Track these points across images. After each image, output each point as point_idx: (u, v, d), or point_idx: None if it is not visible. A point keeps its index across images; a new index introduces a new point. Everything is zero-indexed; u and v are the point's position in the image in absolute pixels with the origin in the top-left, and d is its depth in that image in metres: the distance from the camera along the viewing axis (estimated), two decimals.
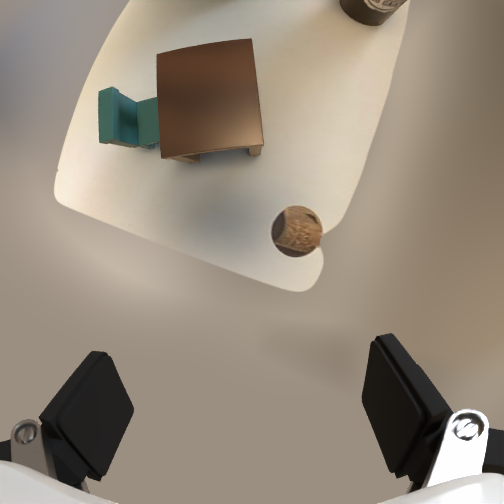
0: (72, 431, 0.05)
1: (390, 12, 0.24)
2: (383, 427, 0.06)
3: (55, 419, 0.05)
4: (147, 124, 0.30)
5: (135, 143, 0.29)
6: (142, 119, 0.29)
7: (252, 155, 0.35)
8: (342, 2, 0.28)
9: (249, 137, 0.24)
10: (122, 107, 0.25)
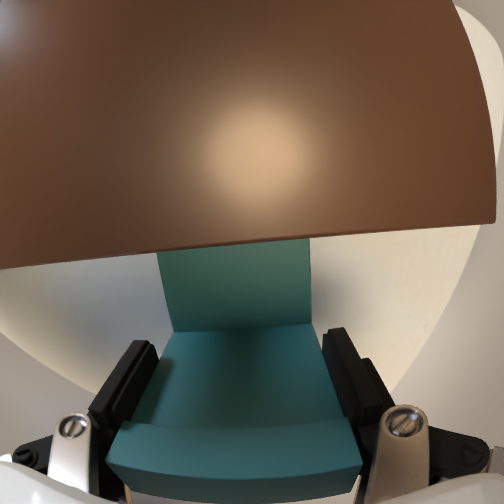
0: (123, 420, 0.06)
1: None
2: None
3: (107, 409, 0.06)
4: (249, 297, 0.11)
5: (311, 334, 0.10)
6: (230, 314, 0.11)
7: None
8: None
9: None
10: (193, 398, 0.07)
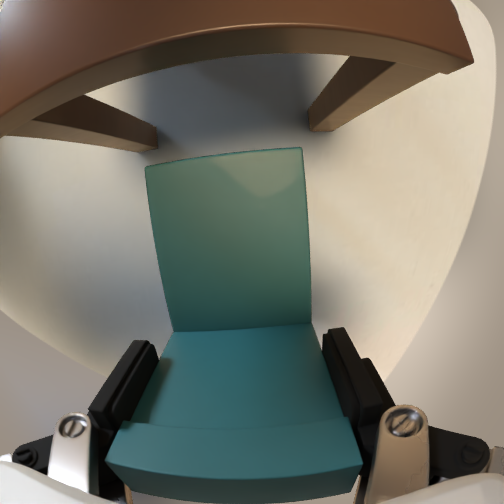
0: (123, 420, 0.06)
1: None
2: None
3: (107, 409, 0.06)
4: (248, 297, 0.11)
5: (312, 334, 0.10)
6: (230, 314, 0.11)
7: None
8: None
9: None
10: (192, 397, 0.07)
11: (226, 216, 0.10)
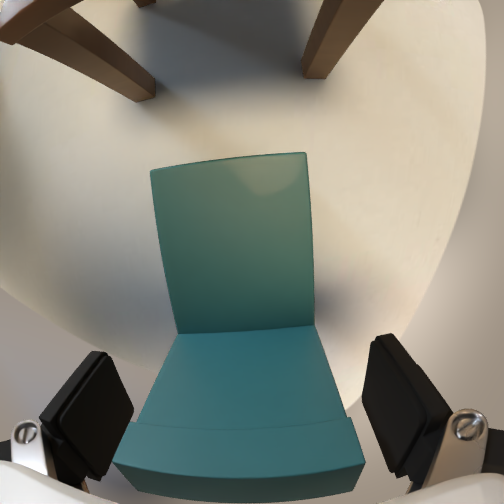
0: (72, 431, 0.05)
1: None
2: (383, 427, 0.06)
3: (55, 419, 0.05)
4: (253, 299, 0.11)
5: (315, 336, 0.10)
6: (234, 316, 0.11)
7: None
8: None
9: None
10: (198, 399, 0.07)
11: (231, 220, 0.10)
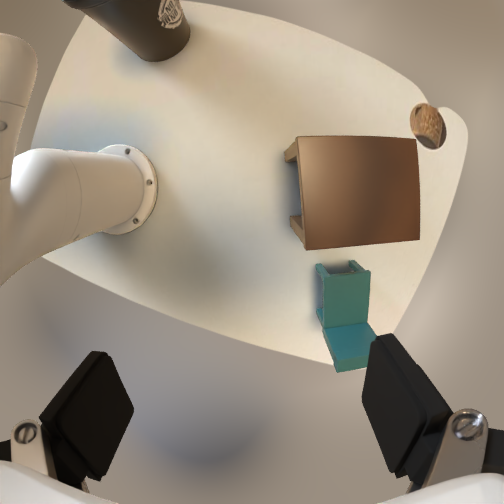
0: (72, 431, 0.05)
1: None
2: (383, 427, 0.06)
3: (55, 419, 0.05)
4: (350, 315, 0.33)
5: (368, 325, 0.32)
6: (343, 321, 0.33)
7: None
8: (162, 57, 0.29)
9: (411, 151, 0.21)
10: (345, 344, 0.29)
11: (347, 292, 0.32)
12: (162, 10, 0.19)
